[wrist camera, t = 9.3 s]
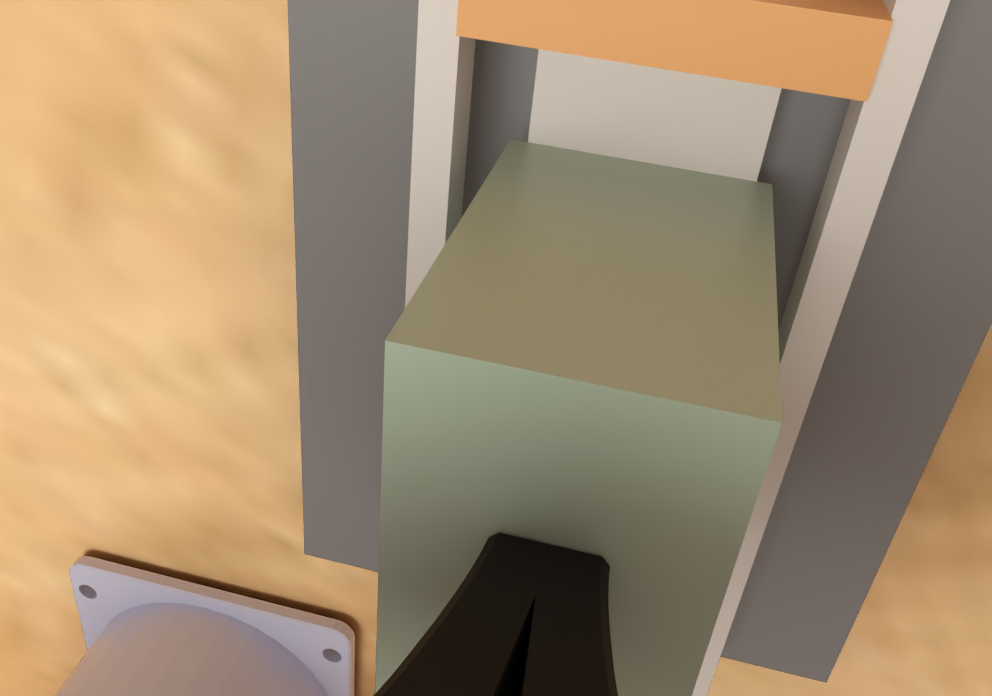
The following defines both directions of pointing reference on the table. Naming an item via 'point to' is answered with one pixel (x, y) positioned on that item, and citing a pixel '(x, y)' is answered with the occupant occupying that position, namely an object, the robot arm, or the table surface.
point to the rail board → (692, 146)
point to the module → (585, 398)
